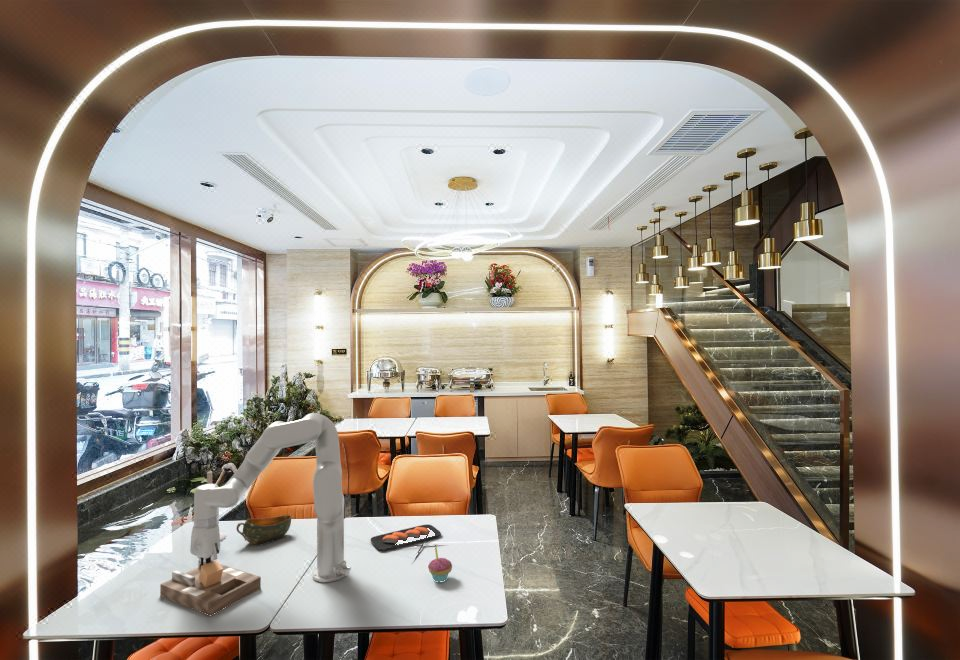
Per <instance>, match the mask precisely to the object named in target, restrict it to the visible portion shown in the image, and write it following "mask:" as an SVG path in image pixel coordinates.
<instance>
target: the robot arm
mask: <svg viewBox="0 0 960 660" xmlns="http://www.w3.org/2000/svg"><path fill="white" fill-rule="evenodd" d="M311 442H315V443H314V445H315V457H316V458H315V459H316V463H315V464H316V466H315V467H316V468H315V471H314V473H313V480H312V483H313V484H312V485H313V486H312V488H313V506H314V514H315V517H316V544H317V545H316V568H315V569H314V570H313V572H312V579H313V580H314V581H316V582H318V581H319V582H320V583H332V582H335V581H339V580H341V579H343V578H344V577H348V576H349V574H350V571H351V570H352V567H351V566H348V565H347V560H345V496H344V493H343V485H342V483H343V482H342V477H343V470H342V469H343V468H342V463H341V462H342V461H341V451H340V450H341V449H340V439H339V433H338V429H337V427H336V425H335V424H334V422H332V420H331V419H330V418H329V417H327V416H326V415H323V414H321V413H319V412H318V413H316V412H311V413H308V414H305V415H304V416H303V417H302V418H301V419H297V420H294V421H289V422H285V421H282V420H276V421H274V422H272V423H270V424H269V425H268V426H267V427H266V428H265V429H264V430H263V432H262V434H261V435H260V437H259V438H258V439H257V440H256V442H255V443H254V444H253V445H252V447H251V448H250V449H249V450H248V452H247V453H246V454H245V457H244V460H243V462H242V463H241V465H240V466H239V467H238V468H237V470H236V471H235V472H234V473H233V475H232V476H231V477H230V478H229V480H228V481H227V482H226V483H225V484H224V485H222V486H220V487H219V485H218V484H216V483H212V484H207V483H206V484H201V485H199V486H196V488H194V494H193V495H194V496H193V497H194V498H193V499H194V501H193V502H194V504H193V524H192V525H193V526H192V529H191V530H192V531H191V536H190V545H189V547H190V548H189V549H190V550H189V551H190V554H191V555H193V556H196V557H197V558H198V560H199V564H200V569H201V566H202V565H205V564H207V563H210V562H213V561H216V560H218V554H219V553H220V552H221V541H220V532H219V531H220V525H219V523H220V509H221V508H223V509H224V508H225V509H228V508H233V507H235V506H236V505H237V504H238V503H239V502H240V501H241V499H242V498H243V496H245V494H246V493H247V491H248V490H249V488H250V487H252V485H253V483H254V482H255V481H256V480H257V478H258V477H259V476H260V475H261V473H262V472H263V471H265V470H266V469H267V468H268V467H269V466H270V464H271V462H272V461H273V459H275V457H276V456H277V455H278V454H279V452H280V451H281V450H282V449H285V448H289V447H294V446H299V445H303V444H307V443H311Z"/></svg>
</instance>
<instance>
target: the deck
mask: <svg viewBox="0 0 960 660" xmlns="http://www.w3.org/2000/svg"><path fill="white" fill-rule="evenodd" d="M197 563H198V564H197V565H198V566H197V567H195V568H194V569H191V570H189V571H187V572H182V571H180V570H175V569H174V570H173V571H172V572H171V579H168V580H167V581H164V582H163V583H160V586H159V587H160V590H159V591H160V592H159V593H160V594H159V595H160V597H161V598H163V599H167V600H169V601H170V602H174V603H176V604H179V605H181V604H182V605H181V606H184V607H186V606H187V607H186V608H189V607H190V608H189V609H191V608H193V609H192V610H194V609H195V610H194V611H196V610H198V611H197V612H199V611H201V612H203V613H202V614H204V613H206V614H208V615H207V616H209V615H212V614H214V613H216V612H217V613H219V612H221V611H223V610H224V609H223V608H225V607H226V608H228V607H230V606H232V605H233V603H234V604H236V603H237V602H239V601H241V600H243V599H244V598H246V597H248V596H250V595H251V594H254V593H255V592H258V591H259V590H260V589H261V587H262V586H261V585H262V584H261V580H262V579H261V578H262V577H261V576H260V575H256V574H253V573H249V572H247V571H243V570H240V569H237V568H234V567H230V566H227V565H224V564H222V563H219V564H220V565H221V567H222V568H223V572H222V577H221V581H220V582H218V583H215V584H213V585H210V586H208V587H204V585H203V584H202V582H201V581H200V579H199V575H200V564H199V559H198V562H197ZM231 604H232V605H231ZM229 605H230V606H229ZM227 606H228V607H227ZM226 608H225V609H226ZM222 609H223V610H222ZM220 610H221V611H220ZM218 611H219V612H218ZM201 612H200V613H201ZM217 613H216V614H217ZM206 614H205V615H206ZM214 615H215V614H214ZM212 616H213V615H212Z"/></svg>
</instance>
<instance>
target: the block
mask: <svg viewBox="0 0 960 660" xmlns="http://www.w3.org/2000/svg"><path fill="white" fill-rule="evenodd" d="M220 564H221V563H220V562H219V561H218V559H216V560H214V561H213V562H210V563H207V564H205V565H202V566H201V569H200V575H199V579H200V581H201V582H202V584H203V585H204V587H208V586H210V585H213V584H215V583H218V582H220V581H221V577H222V572H223V568H222V567H221V565H220Z"/></svg>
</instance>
